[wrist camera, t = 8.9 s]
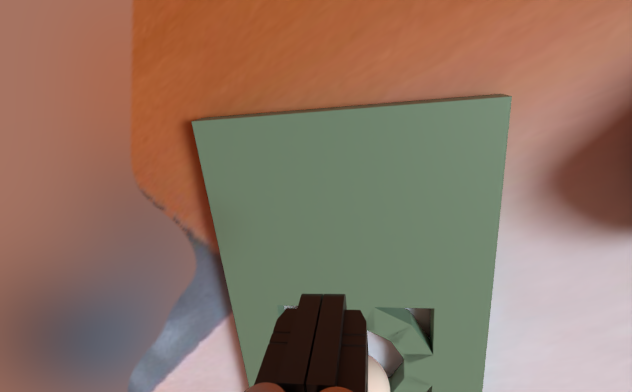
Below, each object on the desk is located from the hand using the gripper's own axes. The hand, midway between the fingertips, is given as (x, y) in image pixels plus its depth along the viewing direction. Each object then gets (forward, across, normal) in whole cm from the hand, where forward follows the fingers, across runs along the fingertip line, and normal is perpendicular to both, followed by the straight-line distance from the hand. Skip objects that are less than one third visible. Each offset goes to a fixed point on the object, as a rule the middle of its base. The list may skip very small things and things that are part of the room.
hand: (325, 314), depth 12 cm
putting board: (+12, 0, +8) cm, 14 cm away
